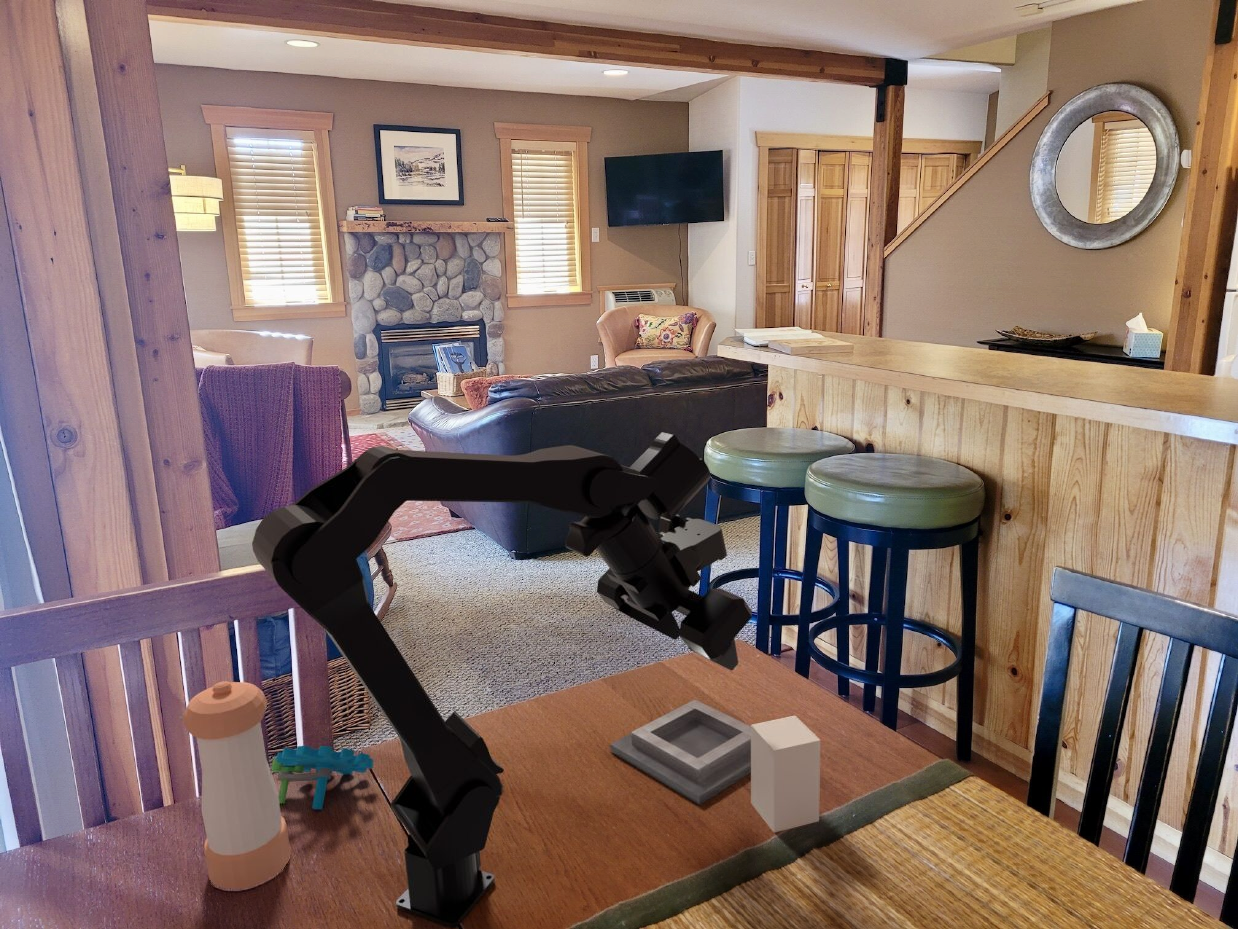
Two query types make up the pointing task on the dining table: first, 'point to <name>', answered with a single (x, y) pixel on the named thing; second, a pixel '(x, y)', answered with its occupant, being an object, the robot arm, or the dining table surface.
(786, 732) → the square block
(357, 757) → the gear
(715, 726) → the locating plate
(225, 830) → the pepper shaker
